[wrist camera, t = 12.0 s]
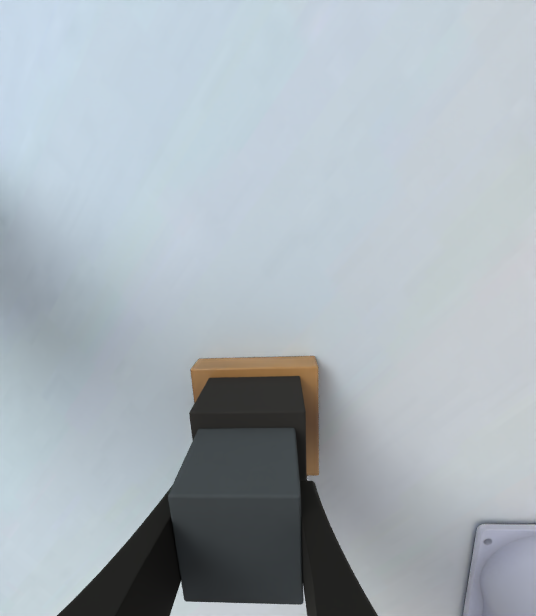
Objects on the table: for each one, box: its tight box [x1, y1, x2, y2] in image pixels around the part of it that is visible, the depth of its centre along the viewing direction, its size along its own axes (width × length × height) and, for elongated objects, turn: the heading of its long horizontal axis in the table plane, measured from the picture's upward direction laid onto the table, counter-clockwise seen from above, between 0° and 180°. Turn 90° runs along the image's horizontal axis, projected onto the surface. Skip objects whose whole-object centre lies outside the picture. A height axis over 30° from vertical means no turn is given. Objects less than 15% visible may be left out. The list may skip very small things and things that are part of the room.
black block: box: [189, 376, 307, 481], centre depth 13 cm, size 6×5×3 cm
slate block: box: [168, 428, 303, 604], centre depth 10 cm, size 5×4×3 cm
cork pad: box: [191, 356, 319, 476], centre depth 15 cm, size 7×7×2 cm
